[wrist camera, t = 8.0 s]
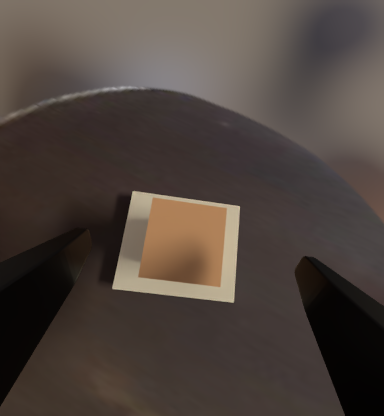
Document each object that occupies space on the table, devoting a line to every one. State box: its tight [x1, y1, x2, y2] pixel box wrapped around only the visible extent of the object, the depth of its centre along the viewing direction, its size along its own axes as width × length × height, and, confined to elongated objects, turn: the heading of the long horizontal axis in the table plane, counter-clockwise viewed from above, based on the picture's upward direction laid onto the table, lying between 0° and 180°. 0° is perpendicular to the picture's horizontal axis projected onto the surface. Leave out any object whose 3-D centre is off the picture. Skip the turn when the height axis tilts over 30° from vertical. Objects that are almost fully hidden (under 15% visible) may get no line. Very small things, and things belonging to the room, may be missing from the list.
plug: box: [138, 197, 227, 287], centre depth 16 cm, size 5×5×10 cm
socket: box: [112, 191, 240, 303], centre depth 20 cm, size 10×12×2 cm
